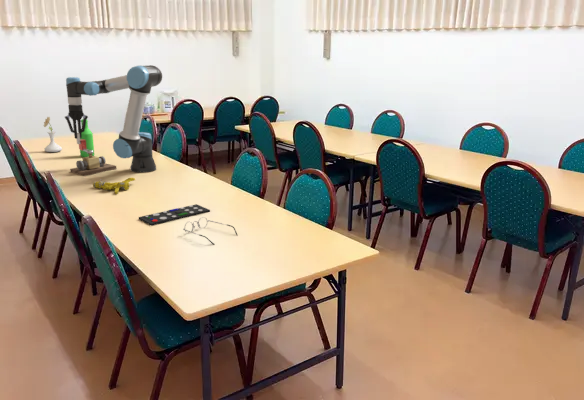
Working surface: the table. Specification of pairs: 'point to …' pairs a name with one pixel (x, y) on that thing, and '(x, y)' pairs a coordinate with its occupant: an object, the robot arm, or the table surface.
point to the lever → (84, 146)
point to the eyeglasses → (205, 226)
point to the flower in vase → (52, 146)
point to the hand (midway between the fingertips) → (78, 143)
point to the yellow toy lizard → (113, 185)
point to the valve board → (93, 171)
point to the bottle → (87, 140)
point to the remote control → (173, 214)
